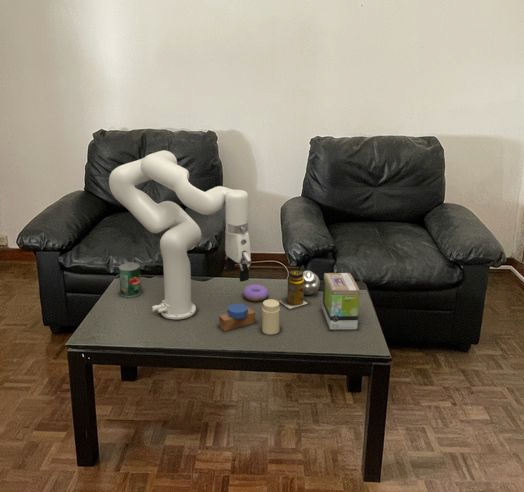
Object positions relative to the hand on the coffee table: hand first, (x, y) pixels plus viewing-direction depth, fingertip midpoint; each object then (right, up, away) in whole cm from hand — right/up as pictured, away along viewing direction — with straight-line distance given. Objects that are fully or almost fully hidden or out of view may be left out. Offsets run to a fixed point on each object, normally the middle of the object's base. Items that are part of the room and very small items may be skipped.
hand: (237, 275), depth 186 cm
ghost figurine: (+26, -13, +28) cm, 40 cm away
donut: (+6, -13, +25) cm, 29 cm away
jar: (+11, -19, +1) cm, 22 cm away
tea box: (+36, -17, +8) cm, 41 cm away
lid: (0, -12, +3) cm, 12 cm away
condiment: (+20, -14, +21) cm, 32 cm away
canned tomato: (-43, -12, +28) cm, 53 cm away
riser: (0, -18, +4) cm, 18 cm away
